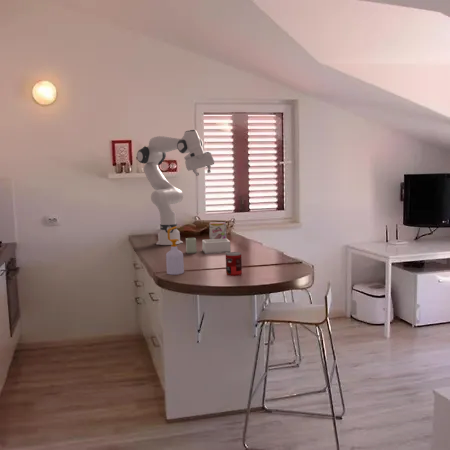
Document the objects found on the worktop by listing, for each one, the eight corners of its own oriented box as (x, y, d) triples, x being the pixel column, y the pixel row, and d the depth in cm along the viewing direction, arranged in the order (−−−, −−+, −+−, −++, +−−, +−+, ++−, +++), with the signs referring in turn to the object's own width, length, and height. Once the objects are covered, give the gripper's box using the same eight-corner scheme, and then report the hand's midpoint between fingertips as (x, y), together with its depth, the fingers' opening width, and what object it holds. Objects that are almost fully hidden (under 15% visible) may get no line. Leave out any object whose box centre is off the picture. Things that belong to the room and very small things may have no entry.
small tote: (186, 252, 357) (185, 238, 356) (195, 251, 358) (194, 237, 357) (187, 253, 351) (186, 239, 350) (196, 253, 352) (196, 239, 351)
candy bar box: (209, 247, 372) (208, 223, 370) (210, 246, 377) (209, 222, 375) (226, 247, 371) (225, 222, 369) (226, 246, 376) (226, 222, 374)
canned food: (225, 273, 288) (224, 252, 286) (240, 272, 288) (240, 251, 287) (226, 276, 280) (226, 254, 279) (242, 275, 281) (242, 254, 279)
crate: (202, 250, 362) (202, 239, 361) (226, 248, 364) (226, 238, 363) (205, 253, 348) (205, 242, 347) (230, 252, 350) (230, 241, 350)
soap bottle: (185, 273, 289) (183, 227, 286) (168, 275, 287) (166, 228, 284) (182, 270, 298) (180, 225, 295) (165, 272, 295) (163, 226, 292)
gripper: (207, 152, 370) (213, 172, 370) (182, 158, 358) (188, 178, 359) (212, 149, 365) (218, 169, 365) (186, 155, 353) (193, 176, 353)
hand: (203, 174), depth 362 cm, fingers open, 8 cm apart
